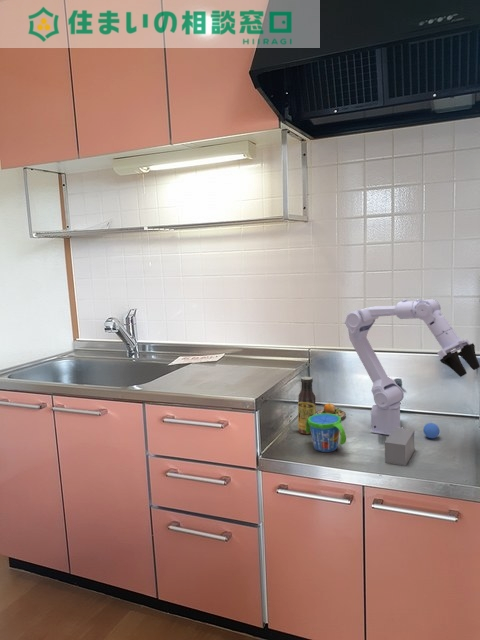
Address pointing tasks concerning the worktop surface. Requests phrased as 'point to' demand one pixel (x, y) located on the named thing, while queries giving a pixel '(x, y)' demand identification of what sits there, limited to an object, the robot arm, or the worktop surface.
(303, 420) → the sauce bottle
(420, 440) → the worktop surface
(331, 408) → the fruit bowl
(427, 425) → the ball
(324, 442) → the snack cup
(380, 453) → the worktop surface
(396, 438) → the grey rectangular block
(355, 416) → the worktop surface
